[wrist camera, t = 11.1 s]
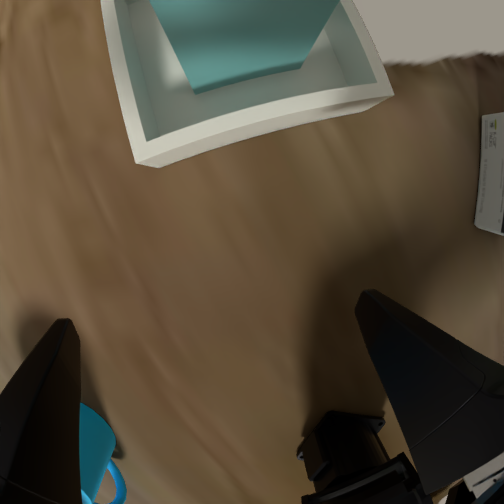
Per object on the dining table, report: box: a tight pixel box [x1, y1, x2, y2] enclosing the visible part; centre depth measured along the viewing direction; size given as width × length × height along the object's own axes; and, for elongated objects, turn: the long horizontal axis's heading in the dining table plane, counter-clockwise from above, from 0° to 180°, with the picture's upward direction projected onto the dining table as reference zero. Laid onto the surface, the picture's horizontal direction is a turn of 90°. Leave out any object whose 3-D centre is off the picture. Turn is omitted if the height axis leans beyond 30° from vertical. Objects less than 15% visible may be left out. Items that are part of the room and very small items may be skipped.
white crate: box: [101, 0, 394, 168], centre depth 14 cm, size 14×14×4 cm
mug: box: [79, 402, 127, 504], centre depth 18 cm, size 12×8×8 cm
